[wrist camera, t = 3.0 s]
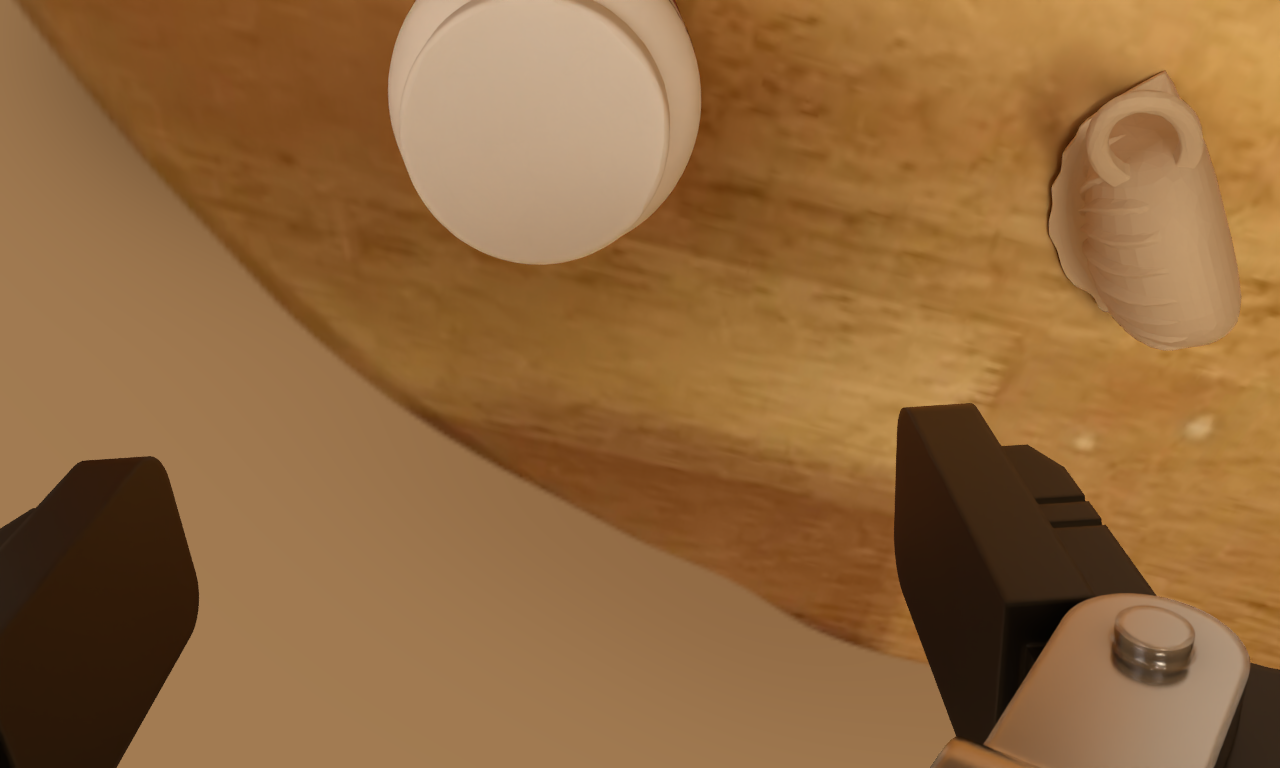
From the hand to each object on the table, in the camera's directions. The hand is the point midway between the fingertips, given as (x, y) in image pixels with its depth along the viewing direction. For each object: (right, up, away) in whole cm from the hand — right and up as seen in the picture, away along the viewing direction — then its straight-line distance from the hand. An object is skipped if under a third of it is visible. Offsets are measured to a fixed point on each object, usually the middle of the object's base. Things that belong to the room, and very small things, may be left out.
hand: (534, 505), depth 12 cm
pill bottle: (-1, +10, +17) cm, 20 cm away
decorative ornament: (+15, +7, +19) cm, 25 cm away
